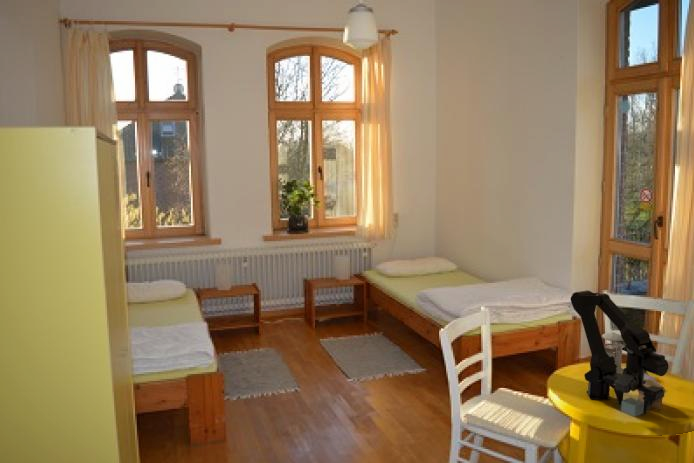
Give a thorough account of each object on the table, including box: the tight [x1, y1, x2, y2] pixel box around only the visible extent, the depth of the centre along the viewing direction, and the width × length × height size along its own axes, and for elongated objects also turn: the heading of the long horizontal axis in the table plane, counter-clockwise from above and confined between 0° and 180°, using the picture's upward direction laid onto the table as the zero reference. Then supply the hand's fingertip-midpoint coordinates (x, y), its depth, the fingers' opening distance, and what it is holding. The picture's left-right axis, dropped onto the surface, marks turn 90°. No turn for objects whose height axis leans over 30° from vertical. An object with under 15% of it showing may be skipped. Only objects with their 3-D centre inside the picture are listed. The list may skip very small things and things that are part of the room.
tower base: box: [637, 392, 663, 410], centre depth 221 cm, size 6×6×4 cm
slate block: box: [620, 397, 644, 417], centre depth 215 cm, size 5×5×4 cm
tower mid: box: [637, 379, 665, 397], centre depth 220 cm, size 6×6×4 cm
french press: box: [601, 322, 624, 374], centre depth 251 cm, size 10×12×25 cm
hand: (632, 409), depth 215 cm, fingers open, 9 cm apart
